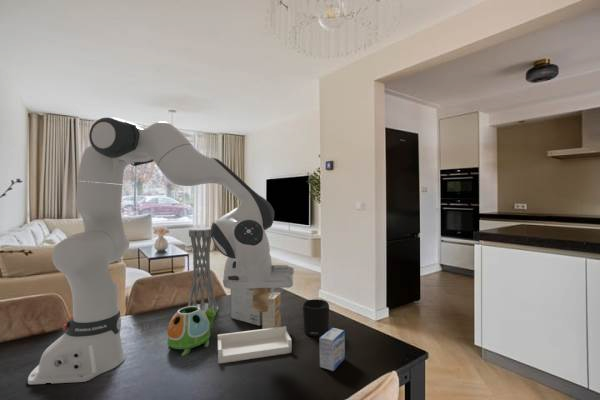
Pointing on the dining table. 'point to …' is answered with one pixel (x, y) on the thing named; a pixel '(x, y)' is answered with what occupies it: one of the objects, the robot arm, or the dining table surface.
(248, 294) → the hard drive box
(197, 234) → the vase
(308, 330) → the pen holder
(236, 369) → the dining table surface
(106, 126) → the robot arm
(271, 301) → the supplement box
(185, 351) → the turtle holder
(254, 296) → the oak blank
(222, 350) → the cream shelf
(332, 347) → the medicine box
